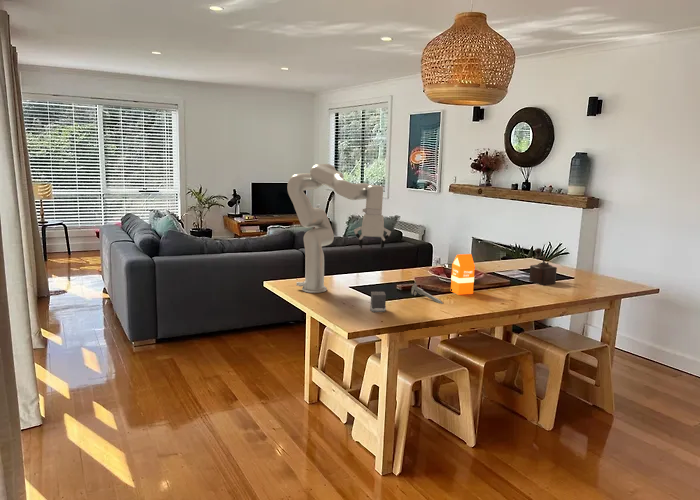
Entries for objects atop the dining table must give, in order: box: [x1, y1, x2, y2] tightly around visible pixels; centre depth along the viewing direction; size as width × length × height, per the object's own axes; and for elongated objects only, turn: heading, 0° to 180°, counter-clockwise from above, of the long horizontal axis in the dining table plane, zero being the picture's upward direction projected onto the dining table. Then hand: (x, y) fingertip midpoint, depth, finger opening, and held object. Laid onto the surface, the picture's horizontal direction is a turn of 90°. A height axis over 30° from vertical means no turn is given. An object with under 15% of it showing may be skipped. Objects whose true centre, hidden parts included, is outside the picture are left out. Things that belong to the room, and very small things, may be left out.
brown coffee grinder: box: [528, 247, 558, 286], centre depth 305 cm, size 16×11×18 cm
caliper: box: [410, 283, 444, 305], centre depth 264 cm, size 20×1×6 cm, turn 39°
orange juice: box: [450, 253, 476, 296], centre depth 277 cm, size 8×9×20 cm
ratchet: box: [369, 305, 387, 313], centre depth 250 cm, size 7×21×5 cm, turn 3°
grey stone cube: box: [370, 291, 387, 308], centre depth 243 cm, size 6×6×6 cm
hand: (371, 248), depth 253 cm, fingers open, 9 cm apart
